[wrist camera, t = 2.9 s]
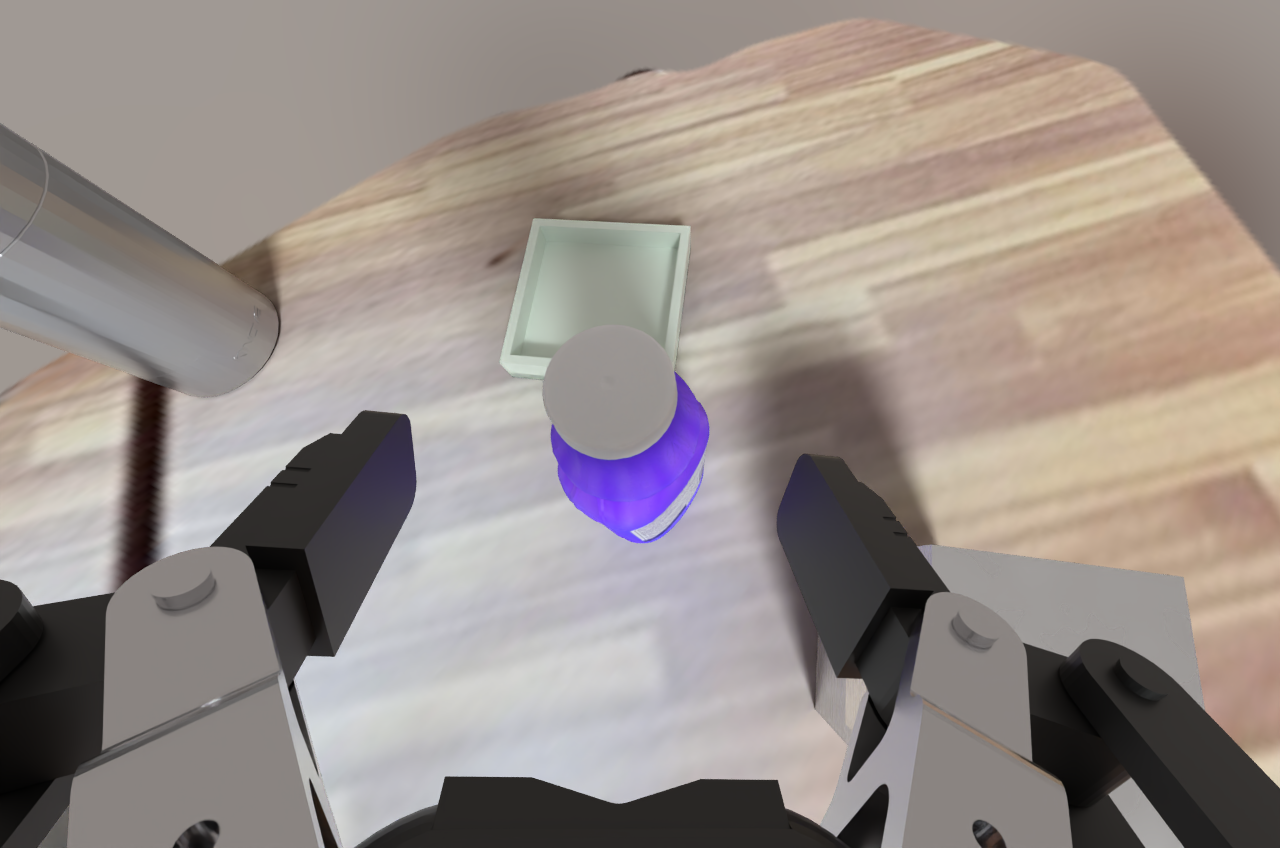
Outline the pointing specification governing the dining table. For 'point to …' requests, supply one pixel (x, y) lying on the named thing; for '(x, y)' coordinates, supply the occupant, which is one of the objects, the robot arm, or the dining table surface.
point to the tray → (595, 287)
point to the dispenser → (1058, 634)
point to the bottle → (624, 431)
